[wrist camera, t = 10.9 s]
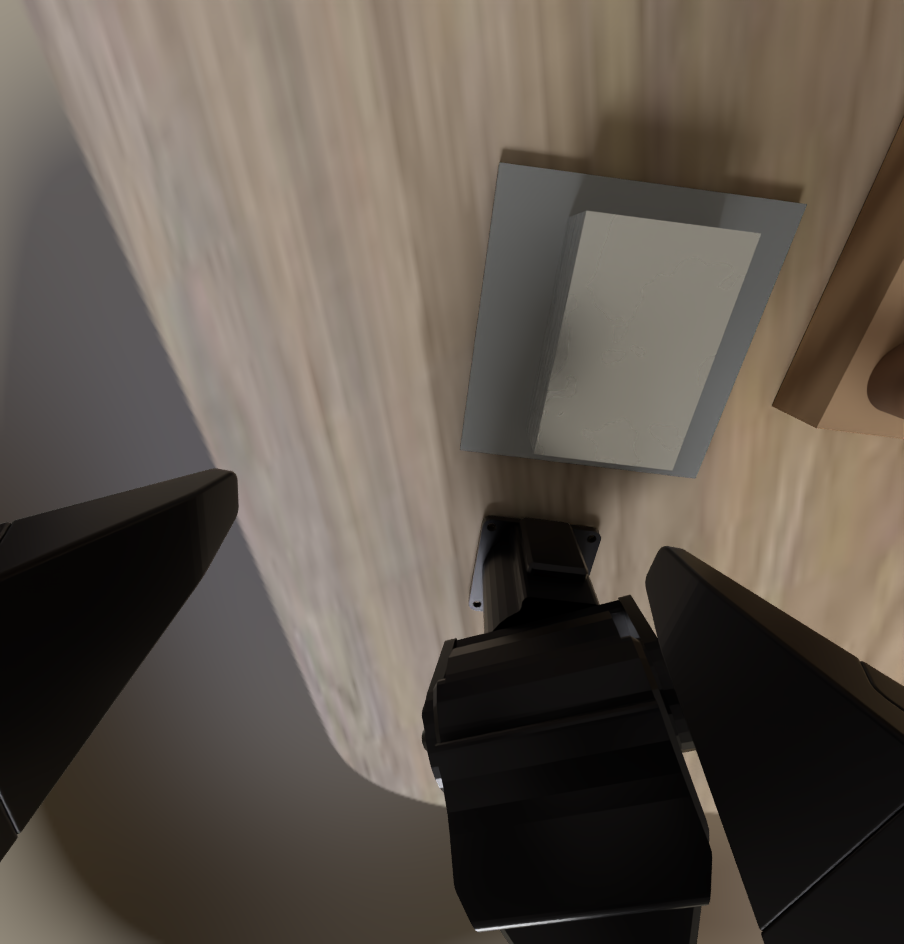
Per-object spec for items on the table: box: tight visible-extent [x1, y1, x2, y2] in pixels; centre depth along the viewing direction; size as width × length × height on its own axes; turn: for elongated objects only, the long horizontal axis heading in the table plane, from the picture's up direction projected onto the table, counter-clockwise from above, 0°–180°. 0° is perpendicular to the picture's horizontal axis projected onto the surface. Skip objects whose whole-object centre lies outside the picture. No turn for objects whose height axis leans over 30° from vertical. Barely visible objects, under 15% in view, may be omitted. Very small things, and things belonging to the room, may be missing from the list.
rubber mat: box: [460, 162, 807, 478], centre depth 20 cm, size 12×12×1 cm
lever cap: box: [526, 211, 761, 470], centre depth 18 cm, size 9×6×3 cm, turn 173°
